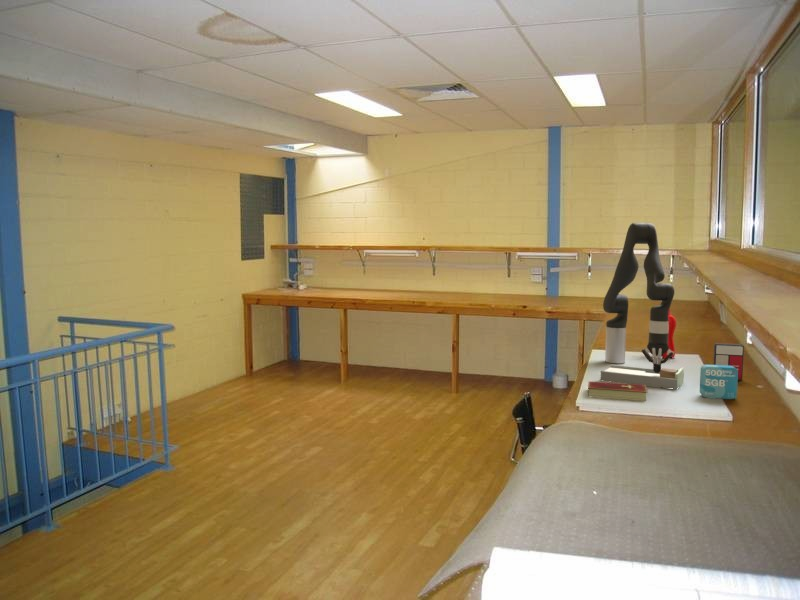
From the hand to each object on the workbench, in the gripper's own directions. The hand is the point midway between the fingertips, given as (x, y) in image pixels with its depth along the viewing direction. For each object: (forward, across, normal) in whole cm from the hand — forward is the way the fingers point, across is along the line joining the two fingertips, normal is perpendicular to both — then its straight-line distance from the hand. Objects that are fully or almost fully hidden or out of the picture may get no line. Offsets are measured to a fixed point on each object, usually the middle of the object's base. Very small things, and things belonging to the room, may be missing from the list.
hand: (656, 372), depth 259 cm
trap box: (+4, +6, 0) cm, 7 cm away
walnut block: (+1, -5, 0) cm, 5 cm away
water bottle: (+4, +9, -65) cm, 66 cm away
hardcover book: (+5, +9, +31) cm, 32 cm away
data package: (+5, -24, +13) cm, 28 cm away
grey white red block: (+4, -24, -25) cm, 35 cm away
